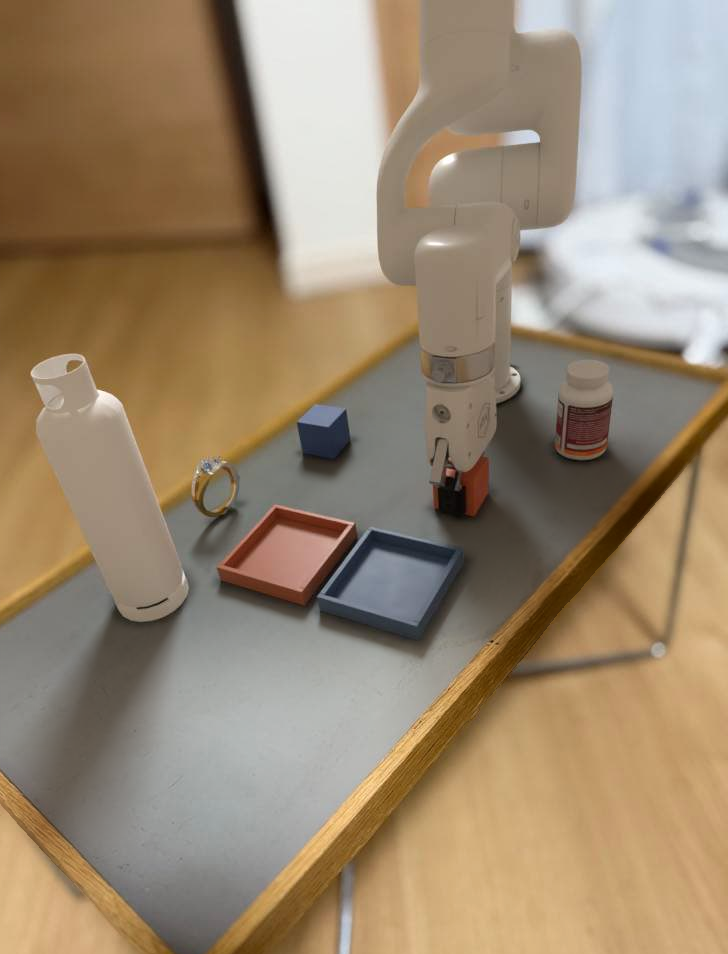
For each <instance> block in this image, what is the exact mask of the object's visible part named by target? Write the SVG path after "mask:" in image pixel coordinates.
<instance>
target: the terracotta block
mask: <svg viewBox="0 0 728 954" xmlns="http://www.w3.org/2000/svg"><path fill="white" fill-rule="evenodd" d="M449 460H451V458H450V457H449ZM455 472H456V470H454V469H448V468H447V469H446V475H447V476H450V477H453V478H454V479H455ZM462 486H465V487H466V513H465V515H464V516H470V517H475V516H476V514H477V513H478V511H479V509H480V507H481V506H482V504H483V502H484V501H485V499H486V497H487V496H488V494H489V492H490V457H487V456H484V455H483V456H480V458H479V459H478V461H477V462H476V464H475V465H474V467H473V468H472V469H470V470H469V471H467V472H463V484H462ZM432 495H433V496H432V497H433V509H436V510H439V507H438V488H437V487H436V485H434V484H432Z"/></svg>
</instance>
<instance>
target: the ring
mask: <svg viewBox="0 0 728 954" xmlns="http://www.w3.org/2000/svg"><path fill="white" fill-rule="evenodd" d="M221 469H222V470H224V471H225V472H226V473H227V475H228V477H229V480H230V492H229V495H228V497H227V499H226V501H225V502H224V503H223V504H222V503H221V504H219V505H218V506H217V508H216V509H214V510H213V509H212V510H207V508H206V507H205V505H204V497H205V493H206V490H207V488H208V486H209V484H210V482H211V480H212V479H213V477H214V475H215V474H217V472H218V471H220V470H221ZM202 474H203V475H206V474H207V475H206V476H205V477H204V478H203V479H202V481H201V482H200V479H201V476H202ZM240 481H241V479H240V475H239V473H238V470H237V468H236V467H235V465H233V464H232V463H231V462H229V461H226V460H223V461H221V455H220V454H218V455H216V458H215V455H211V457H210V456H206V459H204V458H202V459H200V462H199V463H198V464H197V465H196V467H195V471H194V473H193V476H192V480H191V499H192V502H193V505H194V507H195V509H196V510H197V511H198V512H199V513H201V514H202V515H204V516H206V517H208V518H217V517H220V516H222V515H223V516H225V515H227V514H228V513H229V510H230V509H231V508H232V507H233V506H234V504H235V502H236V500H237V497H238V495H239V492H240V484H241V483H240Z"/></svg>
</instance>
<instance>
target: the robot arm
mask: <svg viewBox="0 0 728 954" xmlns="http://www.w3.org/2000/svg"><path fill="white" fill-rule="evenodd" d="M418 15H419V16H418V30H419V31H418V32H419V33H418V36H419V37H418V40H419V41H418V50H419V51H418V56H419V57H418V61H419V63H418V64H419V65H418V67H419V80H418V81H419V82H418V87H417V88H418V89H417V91H416V94H415V96H414V98H413V100H412V101H411V103H410V104H409V105H408V107H407V109H406V110H405V112H404V113H403V114H402V116H401V117H400V118H399V120H398V122H397V124H396V125H395V127H394V129H393V131H392V132H391V134H390V136H389V139H388V142H387V143H386V145H385V148H384V151H383V154H382V157H381V160H380V165H379V168H378V173H377V174H378V175H377V181H376V239H377V255H378V262H379V266H380V269H381V271H382V274H383V276H384V277H385V278H386V280H388V282H390V283H392V284H394V285H395V286H402V287H414V286H415V290H416V305H417V321H418V322H417V323H418V337H419V338H418V339H419V352H420V368H421V370H420V372H421V377H422V379H423V380H424V381H425V382H426V386H425V407H424V430H425V431H424V432H425V433H424V434H425V435H424V436H425V451H426V458H427V462H428V464H429V465H430V467H431V470H430V476H429V484H430V485H433V484H434V485H436V487H437V488H438V507H439V509H438V511H439V512H440V513H445V514H449V515H452V516H453V515H454V516H457V517H464V516H466V515H465V513H466V487H465V486H462V484H463V472H467V471H469V470H470V469H472V468H473V467H474V465H475V464H476V462H477V461H478V459H479V458H480V456H483V457H484V454H485V451H486V449H487V447H488V446H489V444H490V442H491V441H492V439H493V437H494V436H495V434H496V431H497V426H498V424H497V421H498V419H497V417H498V416H497V404H500V403H503V402H505V401H507V400H509V399H511V398H512V397H513V396H515V395H516V394H517V393H518V392H519V390H520V388H521V382H522V381H521V374H520V373H519V371H518V370H516V369H515V368H514V367H513V366H511V346H512V339H511V336H512V301H513V300H512V295H513V265H512V264H513V263H515V262H516V260H517V258H518V256H519V252H520V246H521V231H531V230H542V229H549V228H554V227H555V228H556V227H557V226H560V225H562V224H563V223H565V222H566V220H567V219H568V218H569V217H570V215H571V213H572V210H573V207H574V202H575V197H576V188H577V175H578V174H577V173H578V172H577V171H578V157H579V156H578V155H579V154H578V153H579V139H580V138H579V137H580V119H581V104H582V103H581V102H582V100H581V99H582V77H583V75H582V73H583V71H582V70H583V68H582V56H581V54H582V53H581V50H580V45H579V42H578V40H577V38H576V37H575V35H574V34H573V33H572V32H571V31H569V30H566V29H565V28H546V29H538V30H532V31H526V32H525V31H524V32H517V31H516V28H515V0H418ZM444 130H446V131H448V133H450V134H452V135H455V136H460V137H462V136H463V137H471V136H484V135H485V136H486V135H493V134H503V133H512V132H521V131H533V132H534V133H536V135H538V137H539V141H536V142H528V143H519V144H510V145H508V144H507V145H496V146H487V147H479V148H469V149H463V150H459V151H456V152H453V153H450V154H448V155H446V156H444V157H443V158H441V159H440V160H439V161H438V162H437V163H436V164H435V165H434V167H433V169H432V170H431V172H430V176H429V180H428V198H429V199H428V200H429V205H428V206H418V207H409V208H408V207H406V189H407V188H406V187H407V181H408V176H409V173H410V170H411V168H412V165H413V163H414V162H415V160H416V158H417V157H418V155H419V154H420V153H421V151H422V150H423V149H424V147H425V146H426V145H427V144H428V143H429V142H430V141H431V140H432V139H434V138H435V137H436V136H437V135H438V134H440V133H441V132H442V131H444ZM449 457H450V458H451V460H449ZM447 468H448V469H454V470H456V472H455V479H454V478H453V477H450V476H447V475H446V469H447Z"/></svg>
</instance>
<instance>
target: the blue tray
mask: <svg viewBox="0 0 728 954" xmlns="http://www.w3.org/2000/svg"><path fill="white" fill-rule="evenodd" d="M464 555H465V553H464V547H462V546H461V547H460V546H457V545H452V544H448V543H444V542H440V541H435V540H431V539H427V538H422V537H418V536H413V535H408V534H406V533H405V534H404V533H401V532H396V531H392V530H389V529H383V528H379V527H375V526H371V525H370V526H368V528H367V529H366V530H365V532H363V534H362V535H361V537H360V539H359V540H358V541H357V542H356V544H355V545H354V547H352V549H351V550H350V552H349V553H348V554H347V555H346V557H345V558H344V559H343V561H342V562H341V563H340V565H339V566H338V568H337V569H336V570H335V572H334V573H333V574H332V576H331V577H330V578H329V580H328V581H327V582H326V583H325V585H324V587H323V588H322V589H321V590H320V592H319V593H318V595H316V601H317V604H318V609H319V611H320V612H324V613H327V614H330V615H333V616H337V617H340V618H342V619H343V618H344V619H346V620H350V621H353V622H357V623H360V624H363V625H366V626H370V627H373V628H375V629H379V630H382V631H385V632H390V633H391V634H392V633H393V634H395V635H399V636H402V637H406V638H408V639H412V640H415V641H419V640H420V638H421V637H422V635H423V633H424V632H425V630H426V628H427V626H428V625H429V623H430V621H431V619H432V618H433V616H434V614H435V613H436V611H437V609H438V608H439V606H440V604H441V602H442V600H443V599H444V597H445V596H446V594H447V592H448V590H449V589H450V587H451V585H452V583H453V581H454V580H455V578H456V576H457V574H458V573H459V572H460V569H461V568H462V566H463V564H464V562H465V556H464Z"/></svg>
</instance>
